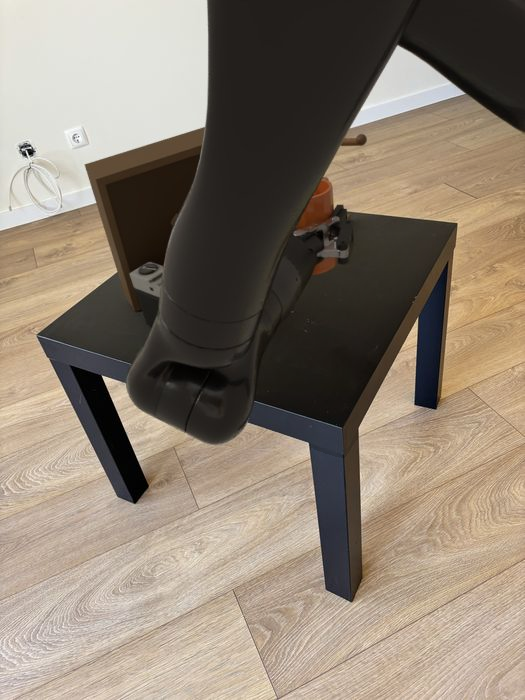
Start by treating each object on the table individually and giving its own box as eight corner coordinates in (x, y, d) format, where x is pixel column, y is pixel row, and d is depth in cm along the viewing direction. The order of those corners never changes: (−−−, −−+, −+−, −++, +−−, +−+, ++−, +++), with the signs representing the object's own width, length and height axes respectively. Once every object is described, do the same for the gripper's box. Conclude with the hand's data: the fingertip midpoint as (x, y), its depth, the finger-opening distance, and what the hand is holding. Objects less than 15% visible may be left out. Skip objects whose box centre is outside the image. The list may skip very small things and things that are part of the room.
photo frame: (126, 301, 91) (74, 155, 75) (237, 256, 98) (209, 114, 82) (158, 342, 80) (104, 181, 65) (279, 288, 87) (256, 131, 72)
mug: (329, 276, 65) (323, 199, 59) (283, 273, 67) (273, 198, 61) (351, 236, 72) (348, 164, 66) (309, 234, 75) (302, 164, 69)
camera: (244, 324, 81) (232, 267, 74) (206, 354, 76) (190, 296, 70) (182, 300, 89) (167, 246, 82) (144, 326, 84) (125, 271, 78)
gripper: (331, 253, 50) (371, 182, 61) (197, 245, 55) (258, 181, 67) (335, 318, 54) (373, 240, 66) (212, 305, 60) (266, 235, 71)
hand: (315, 211), depth 66 cm, fingers closed on mug, 6 cm apart
